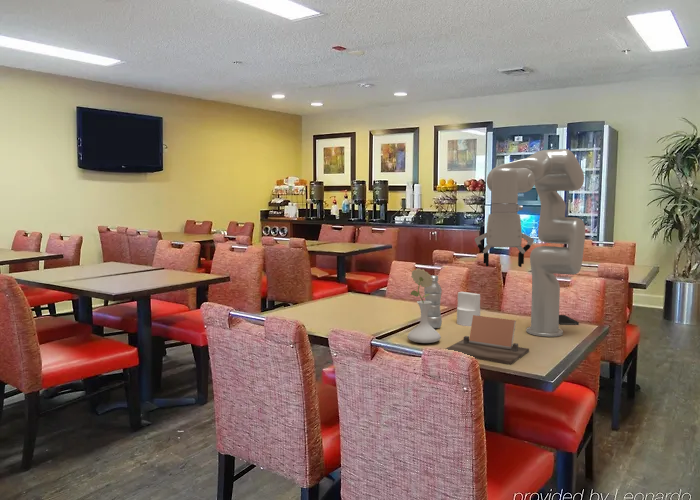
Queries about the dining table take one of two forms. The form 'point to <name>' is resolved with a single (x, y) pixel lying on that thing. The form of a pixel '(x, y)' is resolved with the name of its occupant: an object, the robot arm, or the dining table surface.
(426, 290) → the plastic bottle
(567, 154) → the robot arm
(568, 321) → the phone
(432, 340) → the flower in vase
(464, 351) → the board
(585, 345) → the dining table surface
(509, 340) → the tile
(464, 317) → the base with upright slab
